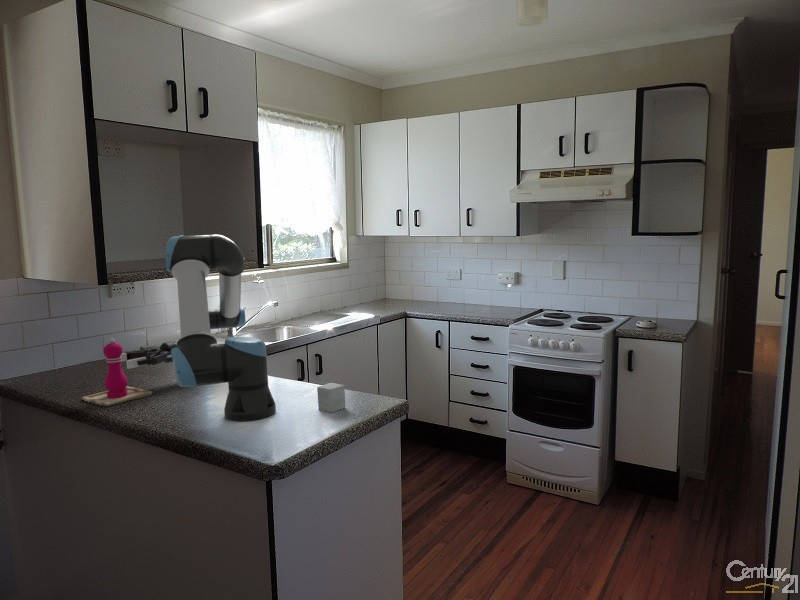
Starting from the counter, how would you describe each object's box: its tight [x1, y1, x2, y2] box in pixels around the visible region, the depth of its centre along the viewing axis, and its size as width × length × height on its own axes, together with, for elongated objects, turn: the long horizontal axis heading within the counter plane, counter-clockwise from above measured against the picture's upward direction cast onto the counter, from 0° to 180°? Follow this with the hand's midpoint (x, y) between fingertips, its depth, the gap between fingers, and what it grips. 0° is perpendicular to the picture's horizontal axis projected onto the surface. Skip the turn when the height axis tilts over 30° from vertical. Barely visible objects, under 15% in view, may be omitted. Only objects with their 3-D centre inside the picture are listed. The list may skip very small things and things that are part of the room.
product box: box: [316, 382, 346, 413], centre depth 181 cm, size 6×6×7 cm
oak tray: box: [81, 385, 153, 407], centre depth 204 cm, size 16×16×1 cm
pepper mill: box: [102, 338, 129, 398], centre depth 202 cm, size 7×7×20 cm
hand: (117, 362), depth 203 cm, fingers open, 13 cm apart
